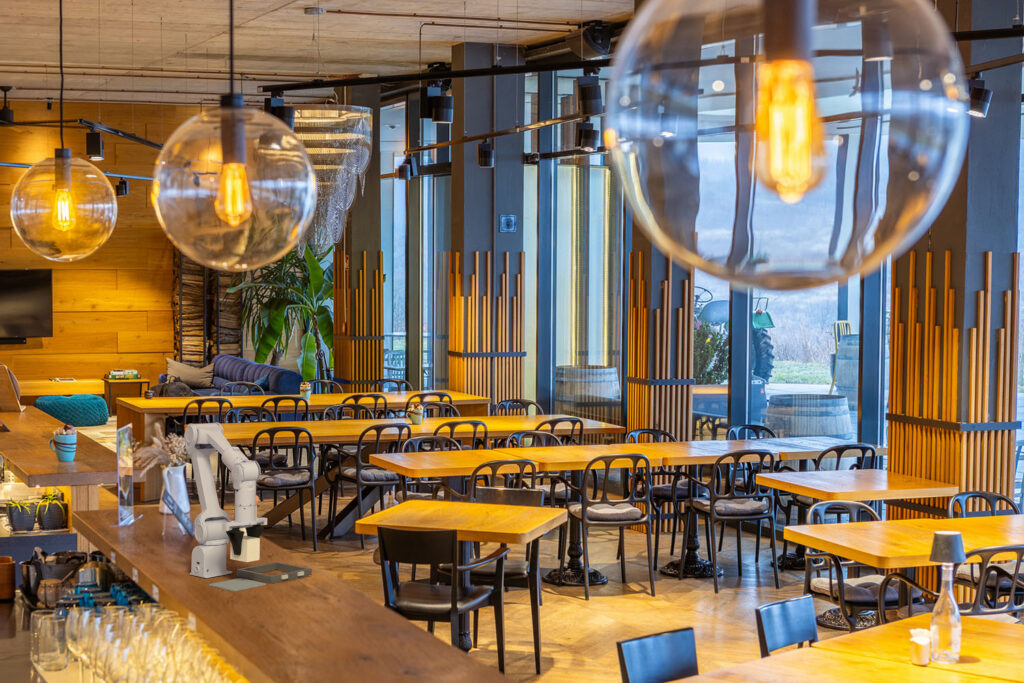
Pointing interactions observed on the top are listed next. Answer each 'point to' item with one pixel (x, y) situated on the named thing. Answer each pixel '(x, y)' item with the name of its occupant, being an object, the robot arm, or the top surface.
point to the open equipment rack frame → (256, 574)
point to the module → (247, 550)
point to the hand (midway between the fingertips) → (244, 553)
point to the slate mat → (237, 584)
